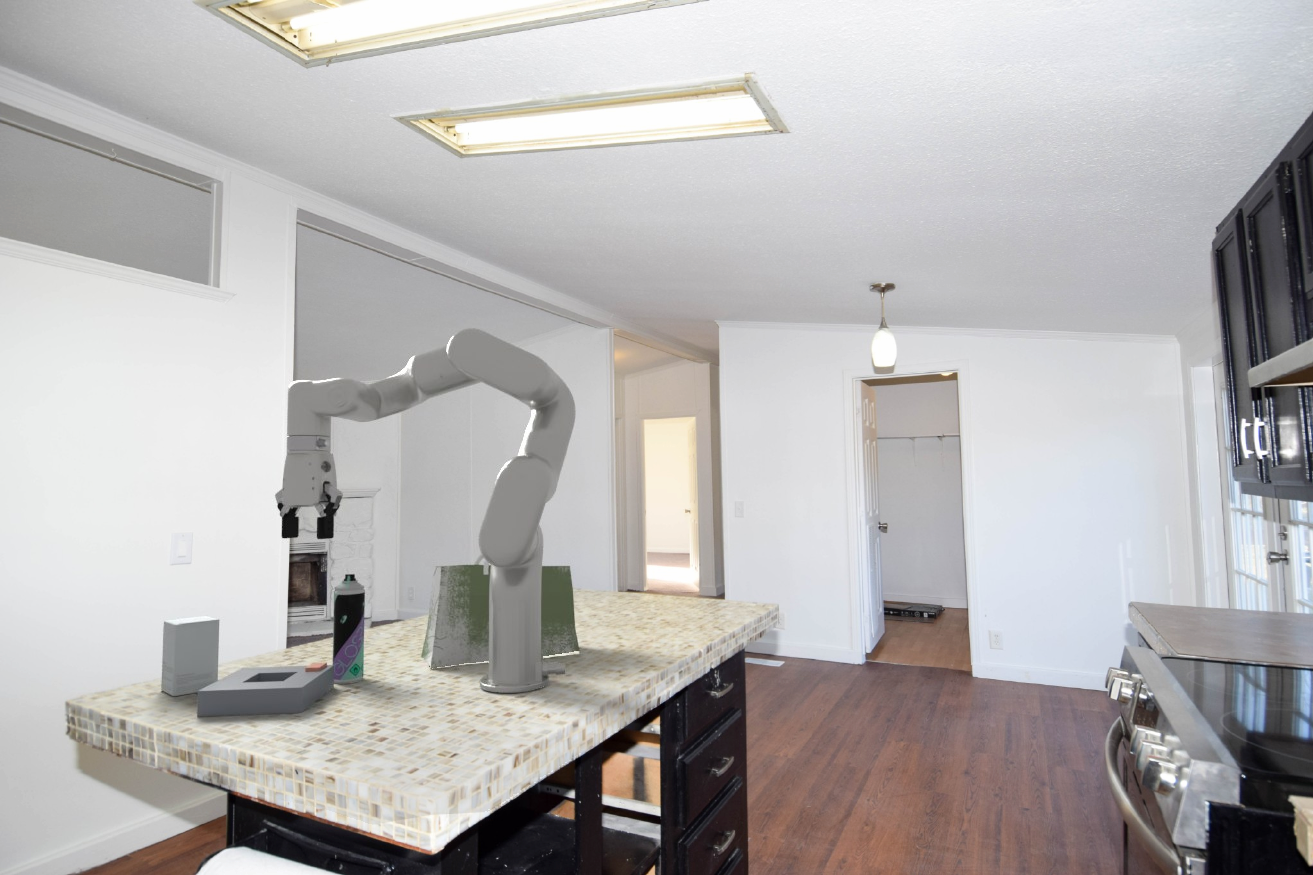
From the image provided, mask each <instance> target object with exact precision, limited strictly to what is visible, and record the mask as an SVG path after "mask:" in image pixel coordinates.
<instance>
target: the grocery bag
mask: <svg viewBox="0 0 1313 875" xmlns="http://www.w3.org/2000/svg"><path fill="white" fill-rule="evenodd" d="M483 559H484V561H483V564H480V563H481V561H482V560H483ZM490 568H491V564H490V563H489V562H488V561H487V560H486V559H485V558H484V557H483V555H482V554H479V555H478V556H477V558H476V559H475V561H474V562H473V564H458V565H439V566H433V575H432V584H431V592H430V593H431V595H430V601H429V608H428V609H429V611H428V617H427V618H428V619H427V625H426V626H427V627H426V632H425V637H424V641H423V646H422V651H421V656H420V658H421V657H422V658H424V659H425V660H426V661H428V663H429V665H430V667H431V668H430V667H429V669H430V670H433V669H432V668H437V667H445V666H451V665H459V664H464V663H476V662H484V661H489V581H490ZM571 572H572V571H571V566H570V565H542V578H541V655H543V656H549V655H555V654H562V653H569V652H574V651H580V652H581V650H580V647H579V642H578V635H577V631H576V630H577V629H576V618H575V600H574V590H573V588H574V587H573V581H572V580H573V579H572V573H571ZM426 661H425V662H426Z"/></svg>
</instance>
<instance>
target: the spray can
mask: <svg viewBox="0 0 1313 875" xmlns="http://www.w3.org/2000/svg"><path fill="white" fill-rule="evenodd" d="M364 588H365V585H363V584H362V583H360V582H359V581H358V580H357V579H356V576H355V573H352V574H351V573H350V574H348V573H347V574H346V573H345V575H344V578H343V580H341V583H339V584H338V585H337V586H335V587H334V591H333V626H332V627H333V629H332V630H333V631H332V665H334V684H338V685H346V684H353V683H357V682H361V681H363V680H364V666H365V665H364V664H365V663H364V662H365V660H364V658H365V612H366V611H365V610H366V609H365V607H366V605H365V604H366V603H365V600H366V590H365V589H364Z"/></svg>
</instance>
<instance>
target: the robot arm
mask: <svg viewBox="0 0 1313 875" xmlns="http://www.w3.org/2000/svg"><path fill="white" fill-rule="evenodd" d="M480 383H482V384H485V385H487V386H489V387H491V388H493V389H496V390H498V391H500V392H502V393H504V394H506V395H508V396H510V397H512V398H514V399H516V400H518V401H519V402H521V403H523V404H524V405H525V406H527V407H528V408H529V409H530V414H531V415H530V418H529V421H528V424H527V426H526V428H525V432H524V435H523V439H522V442H521V445H520V446H519V450H518V454H517V455H516V456H514V457H512V458H510V459H509V460H507V461H506V462H505V464H504V465H503V466H502V468H501V469H500V471H499V473H498V474H497V477H496V479H495V482H494V486H493V488H492V492H491V494H490V498H489V501H488V503H487V506H486V509H485V513H484V516H483V519H482V522H481V526H480V529H479V533H478V547H479V551H480V553H481V554H482V555H483V557H484V558H483V559H484V560H487V561H488V562H489V565H491V568H490V581H489V663H488V675H485V676H483V677H481V678H480V680H479V687H480V688H481V689H482V690H484V691H487V692H491V693H497V692H498V694H499V693H500V694H513V693H517V694H518V693H524V692H525V693H527V692H531V691H530V690H532V691H536V690H535V689H537V690H539V689H538V688H540V689H542V688H541V687H543V686H545V687H546V686H548V685H549V684H548V683H550V675H566V663H565V662H563V663H562V662H561V663H560V661H553V662H548V661H547V660H546V661H545V660H544V659H543V655H541V578H542V566H543V556H544V555H543V554H544V534H543V531H542V528H541V526H540V522H541V519H542V517H543V513H544V509H545V506H546V504H547V503H548V502H549V501H550V500H552V498H554V495H555V494H556V490H557V488H558V483H559V479H560V475H561V471H562V469H563V465H564V462H565V459H566V457H567V451H568V448H569V444H570V440H571V438H572V434H573V431H574V426H575V422H576V411H577V410H576V404H575V398H574V396H573V392H572V391H571V390H570V388H569V386H567V383H566V382H565V381H564V380H563V379H562V378H561V377H560V376H559V375H558V374H557V372H556V371H555V370H554V369H553V368H552V367H551V366H550V365H549V364H548V363H547V362H546V361H544V360H543V359H542V358H540V357H539V356H537V355H536V354H533V353H531V352H530V351H527V350H525V349H522V348H520V347H518V346H516V345H514V344H511V343H509V342H507V341H505V340H503V339H501V338H499V337H497V336H494V335H493V334H491V333H489V332H486V331H485V330H482V329H479V328H471V327H470V328H469V327H468V328H464V329H461V330H459V331H458V332H456V333H454V334H453V335H452V337H451V338H450V339H449V341H448V344H447V345H445V346H442V347H438V348H436V349H431V350H429V351H425V352H422V353H419V354H415V355H413V356H412V357H411V358H410V359H409V360H408V362H407V364H406V366H405V367H404V368H403V369H402V370H401V371H399V372H398V373H396V374H394V375H392V376H388V377H385V378H382V379H379V380H377V381H373V382H370V383H365V382H361V381H358V380H356V379H352V378H349V377H336V378H330V379H326V380H324V379H323V380H311V379H310V380H309V379H308V380H305V379H303V380H302V379H301V380H294V381H293V382H290V384H289V385H288V387H287V413H286V414H287V416H286V417H287V419H286V420H287V421H286V422H287V423H286V426H287V427H286V455H285V460H284V467H283V473H282V485H281V486H282V487H281V489H280V490H278V491H277V492H276V493H275V495H274V498H275V500H276V504H277V506H276V507H277V509H278V511H279V516H280V517H281V538H282V539H294V538H295V539H297V538H299V536H300V535H299V532H300V530H299V528H300V527H299V525H300V523H299V521H300V517H299V516H297V514H298V513H299V511H300V510H301V508H302V507H303V508H304V507H305V508H308V507H309V508H312V507H314V508H315V509H316V511H317V513H318V515H319V516H317V517H316V538H317V540H329V539H330V540H331V539H334V535H335V533H334V532H335V530H334V529H335V528H334V527H335V517H336V516H337V514H338V513H337V511H338V510H339V509H340V506H341V502H342V498H343V496H344V495H343V491H340V490H339V489H338V482H337V470H336V464H335V457H334V455H333V453H331V449H332V448H331V444H332V437H331V436H332V434H331V433H332V418H339V419H343V420H349V421H353V422H359V423H368V422H373V421H377V420H381V419H383V418H388V417H390V416H393V415H397V414H399V413H402V412H405V411H407V410H409V409H412V408H413V407H416V406H418V405H421V404H423V403H424V402H426V401H428V400H429V399H433V398H435V397H439V396H442V395H445V394H448V393H451V392H452V393H453V392H454V391H457V390H461V389H464V388H467V387H470V386H474V385H476V384H480ZM481 554H480V555H481ZM543 688H544V687H543Z"/></svg>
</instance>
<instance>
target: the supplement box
mask: <svg viewBox="0 0 1313 875" xmlns="http://www.w3.org/2000/svg"><path fill="white" fill-rule="evenodd" d="M162 632H163V634H162V659H161V660H162V661H161V663H162V664H161V668H162V669H161V688H160V689H161V691H163V692H164V693H166V694H168V695H170V696H172V697H178V696H183V695H185V696H186V695H190V694H195V693H196V694H197V693H198V691H199V690H201V689H203V688H205V687H207V686H209V685H211V684H212V683H214V682H216V681H218V680H219V648H220V646H219V644H220V618H215V617H212V616H208V615H201V616H192V617H183V618H177V619H169V620H164V621H163V629H162Z"/></svg>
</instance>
